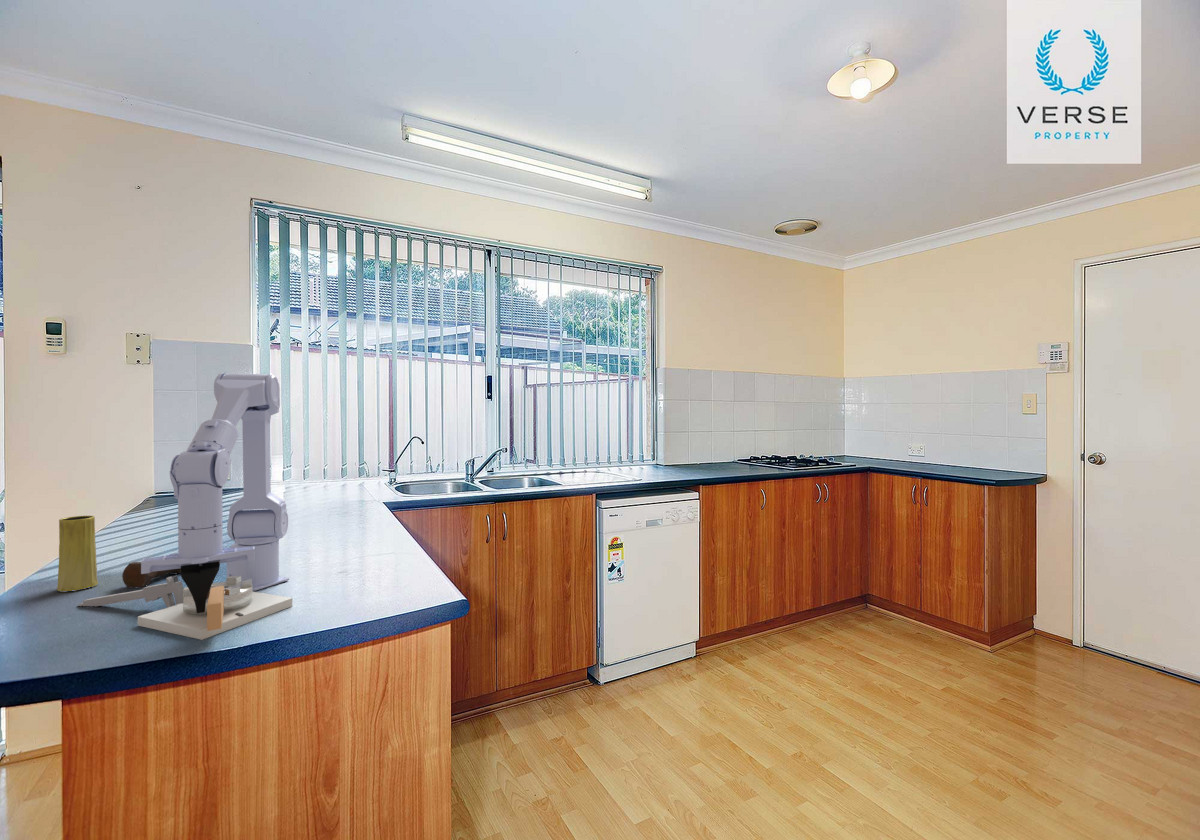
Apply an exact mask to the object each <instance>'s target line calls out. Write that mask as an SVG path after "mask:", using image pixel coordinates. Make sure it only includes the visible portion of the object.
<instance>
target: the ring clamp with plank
mask: <svg viewBox="0 0 1200 840" xmlns="http://www.w3.org/2000/svg"><path fill="white" fill-rule="evenodd" d="M183 588H184V589H183V612H185V613H187V614H195V615H200V614H207V631H210V630H216V629H221V628H222V621H223V614H224V611H229V610H233V609H236V608H239V607H242V606H244V605H246V604H248V603H250V602H251V601H252V599H253V596H252V578H251V579H244V580H243V581H241V576H230V577H228V578H227V577H226V579H225V581H221V582H215V583H214V582H213V583H212V585H211V588H210V590H209V593H208V596H207V599H206V606H205V612H202V613H197V611H196V606H195V602H194V599H193V597H192V594H191V592H190V590H189V588H188V587H187V586H185V587H183Z"/></svg>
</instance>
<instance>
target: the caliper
mask: <svg viewBox="0 0 1200 840" xmlns="http://www.w3.org/2000/svg"><path fill="white" fill-rule="evenodd" d="M165 580H166V582H164V583H160V584H159V583H158V584H154V585H148V586H146V587H143V588H142V589H139V590H132V591H126V592H121V593H115V594H109V595H102V596H98V597H92V598H87V599H85V600H82V603H78V604H77V605H78V606H80V607H82V606H83V607H84V606H95V607H101V606H106V605H110V604H111V605H113V604H119V603H123V602H129V601H135V600H141V599H144V601H145V602H146V603H148V602H151V601H152V602H154V601H157V600H159V599H162V601H163V603H164V604H165V606H166V608H168V607H171V606H174V605H178V604H181V603H183V589H184V588H185V587H184V585H183V580H179V576H178V574H175V575H173V576H168V577H166V578H165Z"/></svg>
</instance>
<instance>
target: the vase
mask: <svg viewBox="0 0 1200 840" xmlns="http://www.w3.org/2000/svg"><path fill="white" fill-rule="evenodd" d="M95 519H96V518H95V516H94V515H78V516H76V515H75V516H68V517H63V518H60V519H59V520H58V525H59V527H58V533H59V536H58V537H59V538H58V540H59V541H58V542H59V543H58V544H59V545H58V570H57V572H58V573H57V586H56V591H57V590H58V591H72V590H79V589H84V588H88V587H92V586H95V585H97V584H98V585H99V580H98V566H97V563H98V562H97V545H96V544H97V543H96V527H95V526H96V524H95V523H96V522H95V521H96V520H95ZM95 587H96V586H95ZM92 588H93V587H92ZM58 591H57V592H58Z"/></svg>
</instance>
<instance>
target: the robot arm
mask: <svg viewBox="0 0 1200 840" xmlns="http://www.w3.org/2000/svg"><path fill="white" fill-rule="evenodd" d="M280 389H281V388H280V383H279V380H278V378H277V377H276V376H275V374H273V373H267V374H266V373H227V372H219V374H218V375H217V376H216V377H215V379H214V383H213V394H214V398H215V399H216V400H215V401H216V407H215V409H214V412H213V415H212V418H211V419H208V420H205V421H203V422H202V423H201V424H200V426H199V427H198V429H197V431H196V433H194V436H193V438H192V440H191V442H190V444H189V445H188V447H187V448H186V451H183V452H180V453H179V454H177V455H175V456H174V457H173V458H172V460H171V463H170V470H169V479H170V482H171V485H172V487H173V496H174V499H175V500H177V528H178V529H177V530H178V532H177V533H178V534H177V535H178V536H177V537H178V542H177V543H178V544H177V547H178V548H177V549H178V552H177V553H178V554H175V553H171V554H172V555H170V554H167V555H166V554H165V555H161V556H154V557H146V558H142V560H141V561H140V562H141V574H146V573H150V572H154V571H162V570H170V569H178V568H181V573H180V574H179V575H180V578H181V579H182V582H184V583H185V585H186V587H188V588H189V590H190V592H191V594H192V597H193V599H194V602H195V606H196V611H197V613H202V612H205V606H206V599H207V596H208V593H209V590H210V588H211V585H212V583H214V581H215V578H216V577H217V575H218V573H219V570H220V567H221V564H226V578H228V577H230V576H241V581H243V580H244V579H251V578H252V591H253V592H257V591H258V590H262V589H265V588H269V587H271V586H274V585H275V586H276V585H278V584H280V583H284V582H287V581H289V580H290V577H286V576H280V558H279V557H280V540H281V539H283V537H285V536H286V535H287V532H288V527H289V514H288V512H287V503H286V501H285V500H284V499H282V498H280V497H278V496H277V495H275V494H274V493H272V492H271V491H272V490H271V488H272V487H271V429H270V428H271V419H272V416H273V415H275V414H278V413H279V412H280V406H281V396H280V395H281V394H280V391H281V390H280ZM240 420H241V422H242V472H243V473H242V477H243V479H242V480H243V481H242V484H243V485H242V486H243V490H242V491H243V493H242V494H243V496H242V497H240V498H239V499H237V500H236V501H234V502H233V503H232V504H231V505H230V508H229V510H228V511H229V513H228V519H227V526H226V530H227V535H228V537H229V539H230V541H233V544H231V546H230V547H225V548H223V547H224V546H223V544H224V543H223V541H224V540H223V539H224V538H223V525H224V524H223V486H225V484H226V483H227V482H228V479H229V475H230V474H229V473H230V466H231V461H232V459H231V457H230V455H231V453H232V451H233V449H234V447H235V444H236V442H237V441H238V438H239V432H238V430H237V428H236V426H237V425H238V423H239V422H240Z"/></svg>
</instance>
